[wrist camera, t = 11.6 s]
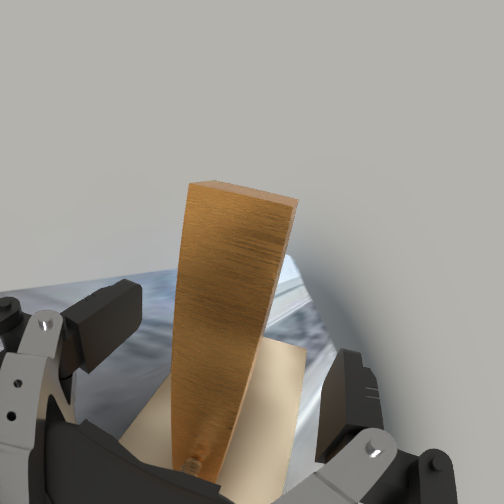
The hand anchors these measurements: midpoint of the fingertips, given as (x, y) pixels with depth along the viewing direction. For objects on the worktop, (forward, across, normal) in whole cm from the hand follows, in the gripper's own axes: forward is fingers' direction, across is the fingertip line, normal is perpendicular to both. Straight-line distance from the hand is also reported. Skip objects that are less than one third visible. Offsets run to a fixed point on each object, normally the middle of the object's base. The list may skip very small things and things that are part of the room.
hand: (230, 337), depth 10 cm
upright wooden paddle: (-2, 0, +9) cm, 9 cm away
